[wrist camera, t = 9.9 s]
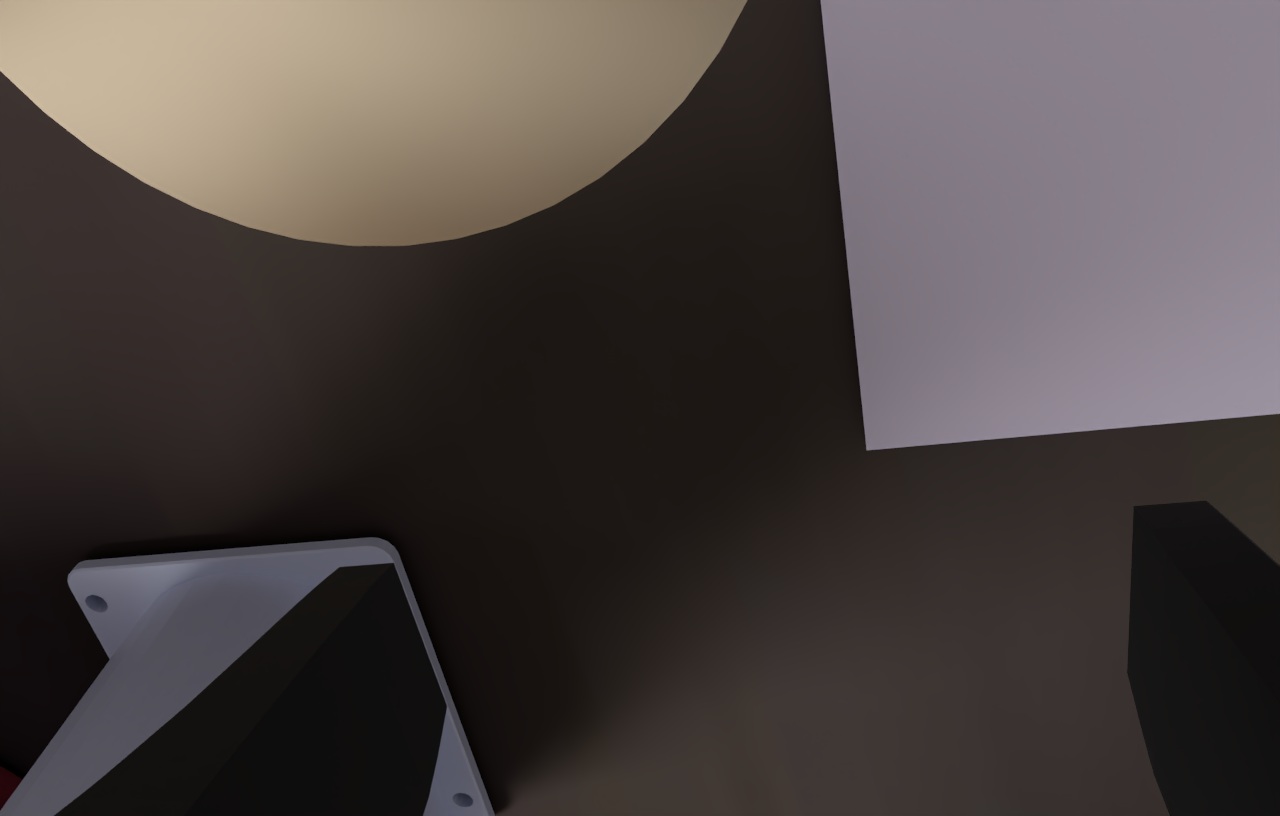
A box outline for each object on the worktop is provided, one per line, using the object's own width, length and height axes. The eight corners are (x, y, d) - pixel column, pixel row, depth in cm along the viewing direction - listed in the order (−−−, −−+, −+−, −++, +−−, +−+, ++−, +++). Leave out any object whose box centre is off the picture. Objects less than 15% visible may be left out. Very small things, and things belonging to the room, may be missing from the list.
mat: (1536, 377, 20) (1549, 389, 20) (865, 438, 22) (866, 450, 22) (1729, -425, 14) (1752, -428, 14) (796, -231, 16) (796, -230, 16)
